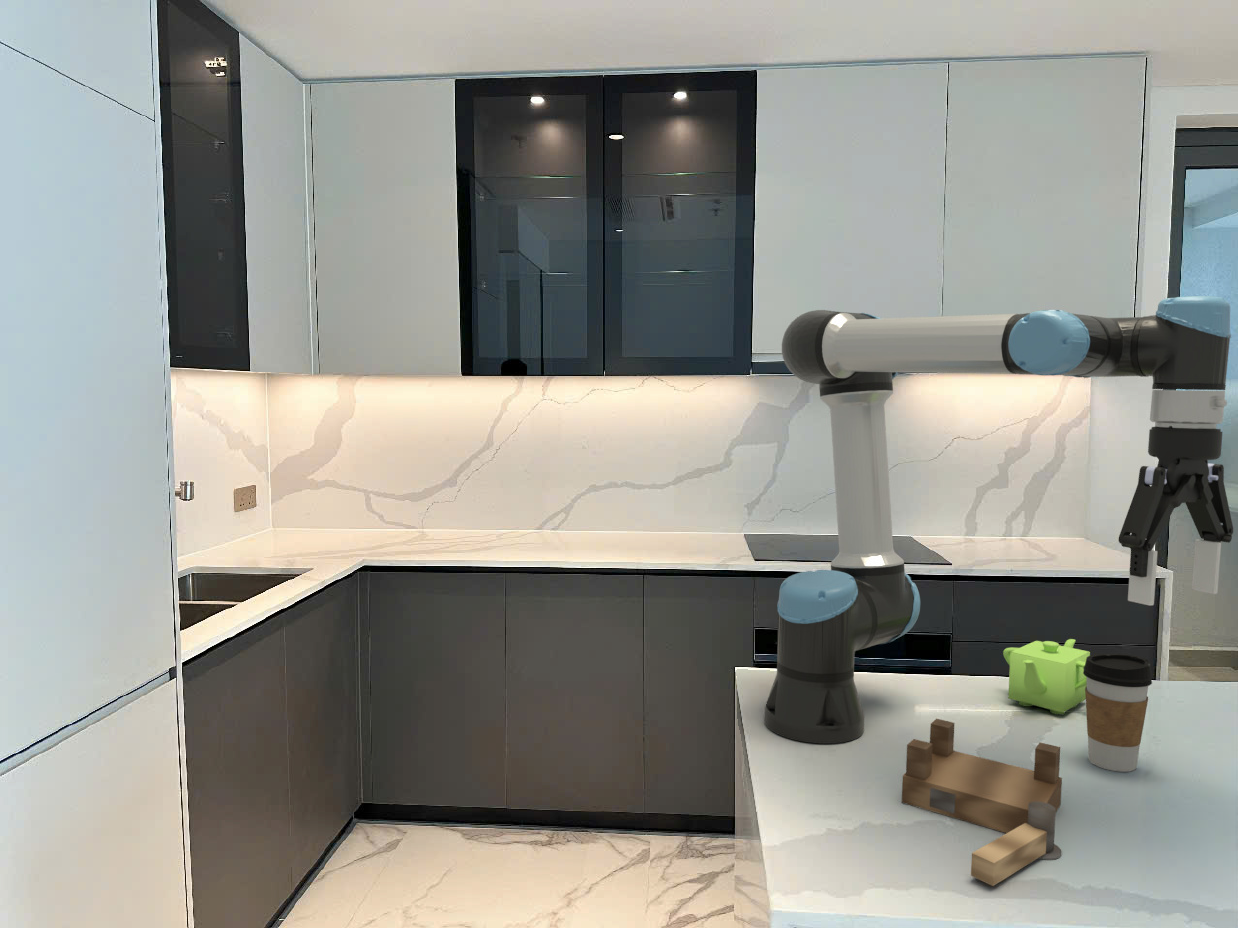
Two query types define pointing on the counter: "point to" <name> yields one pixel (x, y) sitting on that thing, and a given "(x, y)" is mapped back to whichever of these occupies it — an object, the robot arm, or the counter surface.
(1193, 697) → the counter surface
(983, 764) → the stool top
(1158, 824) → the counter surface
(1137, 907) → the counter surface
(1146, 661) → the coffee cup
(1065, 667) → the teapot
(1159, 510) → the robot arm
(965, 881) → the counter surface
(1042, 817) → the hinged leg
